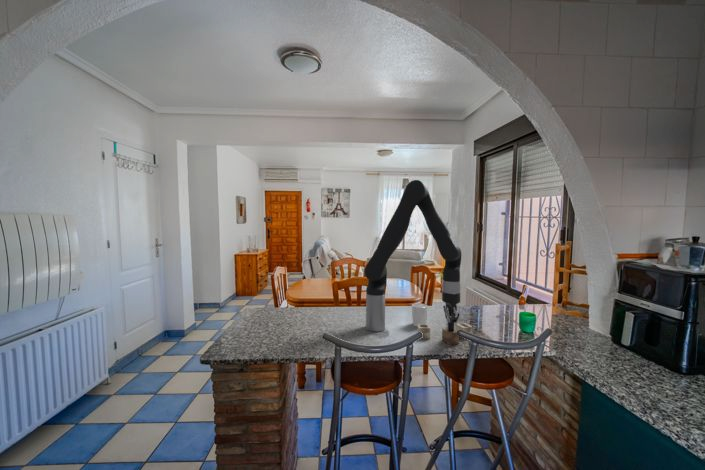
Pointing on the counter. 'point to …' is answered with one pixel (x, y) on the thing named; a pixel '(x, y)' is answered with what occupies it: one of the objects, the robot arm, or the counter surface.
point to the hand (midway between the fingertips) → (450, 330)
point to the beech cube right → (464, 327)
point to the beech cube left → (424, 330)
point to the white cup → (419, 313)
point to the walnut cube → (450, 336)
